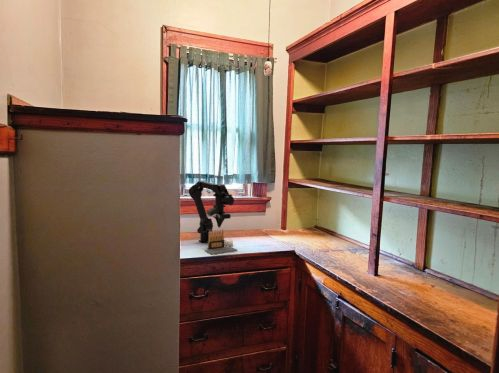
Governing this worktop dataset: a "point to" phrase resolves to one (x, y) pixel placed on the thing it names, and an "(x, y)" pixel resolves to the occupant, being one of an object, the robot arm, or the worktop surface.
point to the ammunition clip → (216, 240)
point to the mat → (221, 250)
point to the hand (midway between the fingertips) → (219, 227)
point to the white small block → (228, 242)
